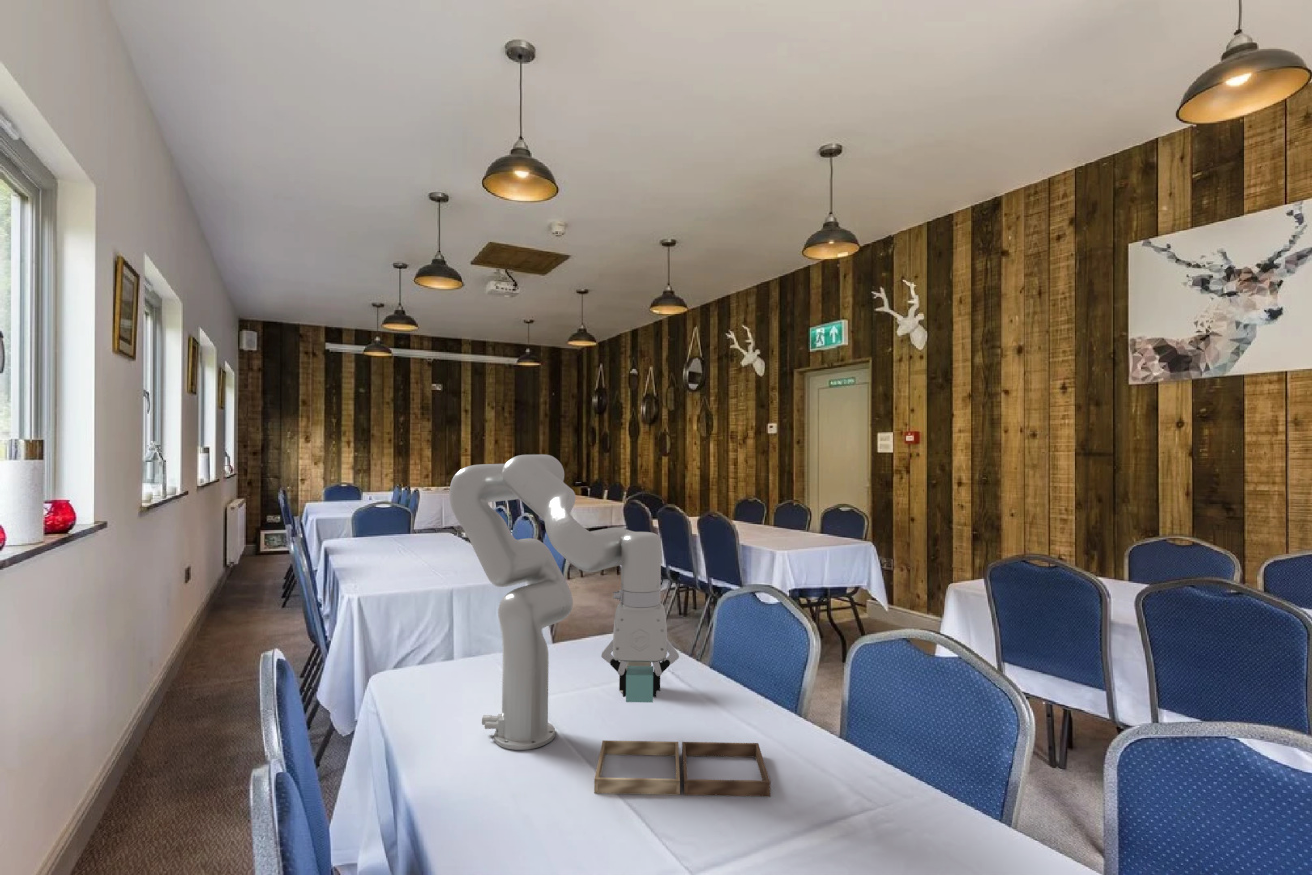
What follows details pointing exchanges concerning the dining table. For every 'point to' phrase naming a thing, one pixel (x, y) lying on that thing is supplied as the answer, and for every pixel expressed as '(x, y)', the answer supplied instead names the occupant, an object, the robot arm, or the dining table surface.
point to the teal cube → (639, 684)
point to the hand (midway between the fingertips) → (639, 693)
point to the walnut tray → (725, 785)
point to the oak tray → (637, 783)
